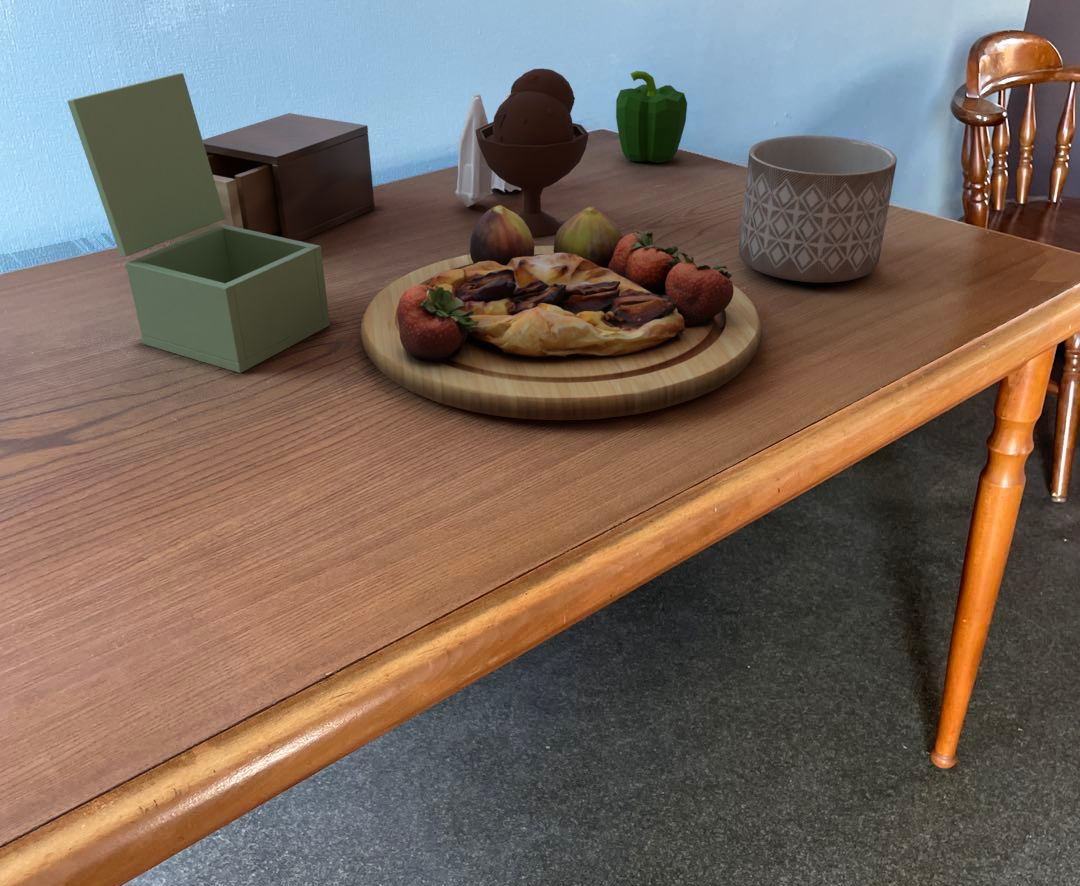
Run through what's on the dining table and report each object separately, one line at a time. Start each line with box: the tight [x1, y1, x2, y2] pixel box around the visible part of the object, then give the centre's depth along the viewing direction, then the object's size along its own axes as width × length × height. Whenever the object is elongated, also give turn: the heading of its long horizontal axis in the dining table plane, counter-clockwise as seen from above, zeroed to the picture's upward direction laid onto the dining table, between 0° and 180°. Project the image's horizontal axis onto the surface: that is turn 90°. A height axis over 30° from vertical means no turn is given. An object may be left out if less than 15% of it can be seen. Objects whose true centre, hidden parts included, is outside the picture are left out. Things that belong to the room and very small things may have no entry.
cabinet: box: [202, 112, 376, 242], centre depth 111 cm, size 14×11×9 cm
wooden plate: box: [360, 204, 762, 421], centre depth 86 cm, size 32×32×8 cm
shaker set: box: [454, 93, 522, 208], centre depth 116 cm, size 12×4×11 cm, turn 152°
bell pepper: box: [615, 70, 688, 163], centre depth 129 cm, size 8×8×10 cm
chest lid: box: [67, 72, 225, 258], centre depth 86 cm, size 11×11×4 cm
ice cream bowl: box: [475, 68, 590, 238], centre depth 107 cm, size 11×11×15 cm
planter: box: [738, 134, 898, 284], centre depth 98 cm, size 13×13×10 cm
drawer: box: [170, 153, 281, 242], centre depth 105 cm, size 17×9×7 cm, turn 149°
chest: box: [124, 224, 331, 374], centre depth 87 cm, size 11×11×7 cm
